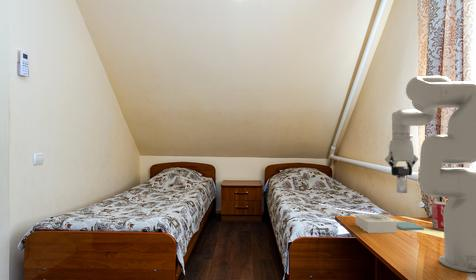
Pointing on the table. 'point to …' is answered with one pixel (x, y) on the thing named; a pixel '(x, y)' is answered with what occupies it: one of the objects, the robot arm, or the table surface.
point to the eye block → (376, 223)
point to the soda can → (438, 215)
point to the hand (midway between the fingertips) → (401, 174)
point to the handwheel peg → (402, 179)
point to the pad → (408, 226)
